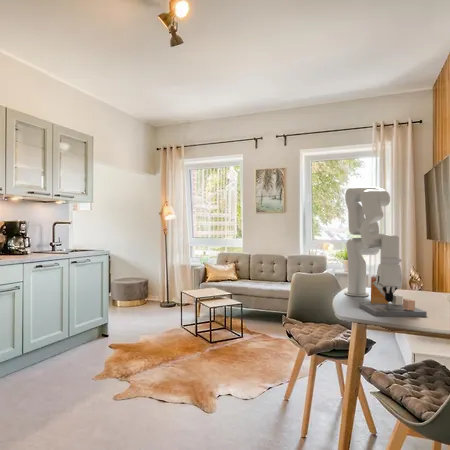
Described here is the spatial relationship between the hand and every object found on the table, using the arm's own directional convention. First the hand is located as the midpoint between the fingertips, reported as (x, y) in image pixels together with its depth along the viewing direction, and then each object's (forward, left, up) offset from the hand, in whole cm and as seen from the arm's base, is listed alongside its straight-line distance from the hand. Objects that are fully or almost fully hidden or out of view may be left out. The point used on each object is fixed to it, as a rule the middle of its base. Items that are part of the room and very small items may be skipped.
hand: (389, 301), depth 162 cm
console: (+5, -1, -4) cm, 6 cm away
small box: (-13, +3, -4) cm, 14 cm away
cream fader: (0, +4, -1) cm, 4 cm away
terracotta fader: (+10, +3, -1) cm, 11 cm away
